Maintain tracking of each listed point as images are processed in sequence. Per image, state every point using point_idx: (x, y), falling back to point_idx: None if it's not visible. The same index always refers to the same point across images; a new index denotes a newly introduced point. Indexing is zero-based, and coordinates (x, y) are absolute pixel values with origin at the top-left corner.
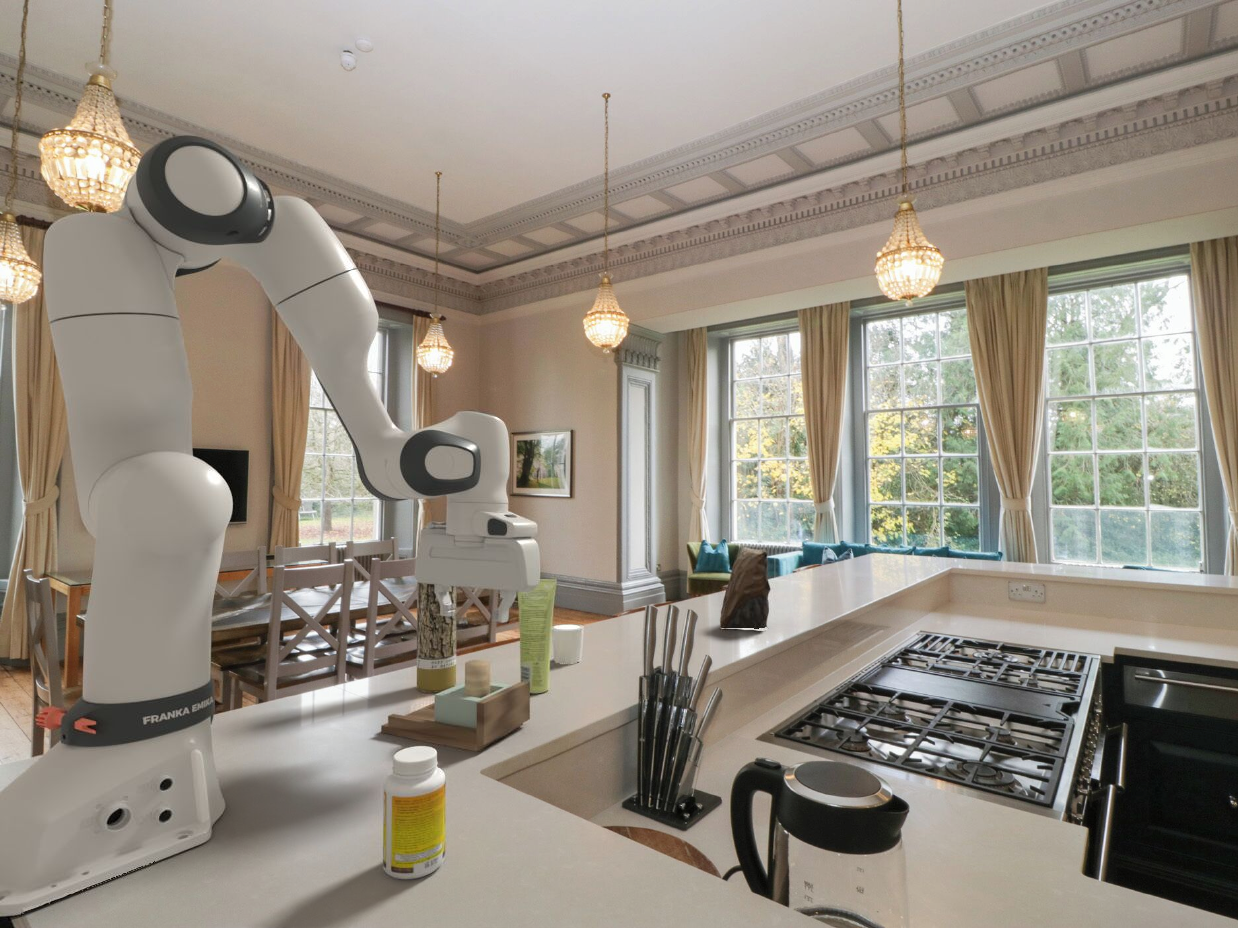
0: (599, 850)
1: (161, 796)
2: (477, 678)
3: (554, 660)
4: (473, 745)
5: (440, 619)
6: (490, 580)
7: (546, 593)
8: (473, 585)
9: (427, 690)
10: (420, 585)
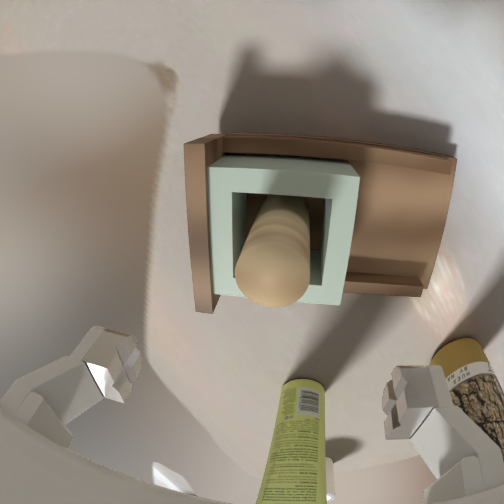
0: (5, 32)
1: None
2: (255, 231)
3: (329, 459)
4: (235, 133)
5: None
6: (16, 471)
7: None
8: (154, 497)
9: (461, 339)
10: None
